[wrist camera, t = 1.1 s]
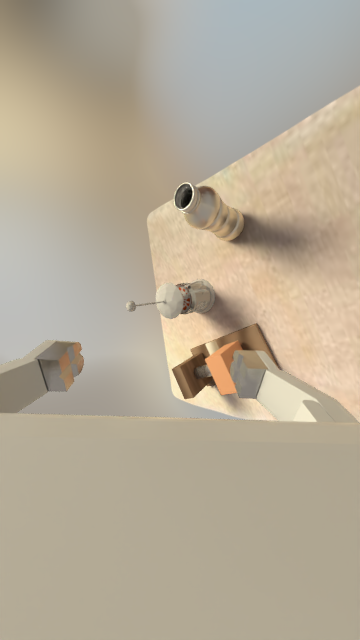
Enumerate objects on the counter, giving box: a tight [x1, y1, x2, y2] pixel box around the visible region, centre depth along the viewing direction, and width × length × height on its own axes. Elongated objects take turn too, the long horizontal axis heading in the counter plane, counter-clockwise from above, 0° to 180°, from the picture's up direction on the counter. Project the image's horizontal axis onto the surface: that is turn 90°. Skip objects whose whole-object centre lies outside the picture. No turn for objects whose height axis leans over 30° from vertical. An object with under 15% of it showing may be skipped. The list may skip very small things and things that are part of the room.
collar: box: [205, 341, 243, 395], centre depth 40 cm, size 4×8×10 cm, turn 30°
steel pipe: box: [194, 357, 234, 379], centre depth 43 cm, size 15×3×3 cm, turn 120°
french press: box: [126, 279, 215, 319], centre depth 40 cm, size 10×12×25 cm
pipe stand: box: [172, 324, 280, 399], centre depth 43 cm, size 21×12×12 cm, turn 120°
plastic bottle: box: [174, 182, 244, 241], centre depth 34 cm, size 6×7×20 cm
